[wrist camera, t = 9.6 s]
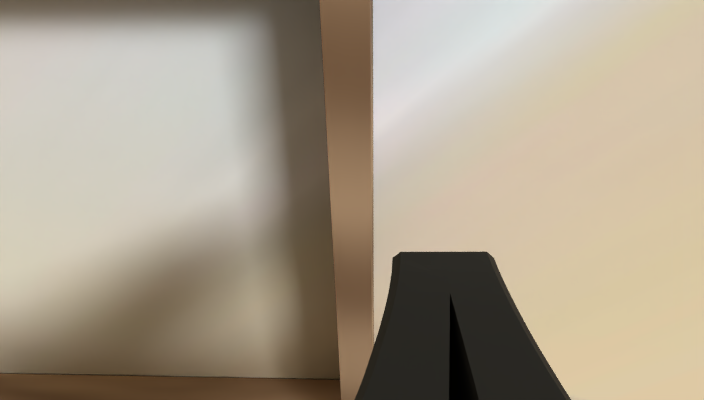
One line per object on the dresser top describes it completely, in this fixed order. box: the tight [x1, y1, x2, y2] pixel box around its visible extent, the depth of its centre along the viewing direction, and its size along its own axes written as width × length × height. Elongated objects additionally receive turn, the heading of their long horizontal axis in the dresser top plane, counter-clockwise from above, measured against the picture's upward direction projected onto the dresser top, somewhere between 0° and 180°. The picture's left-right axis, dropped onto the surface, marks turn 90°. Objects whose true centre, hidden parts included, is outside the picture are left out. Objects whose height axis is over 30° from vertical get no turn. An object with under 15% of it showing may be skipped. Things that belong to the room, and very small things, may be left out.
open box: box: [0, 0, 374, 400], centre depth 20 cm, size 20×17×4 cm
